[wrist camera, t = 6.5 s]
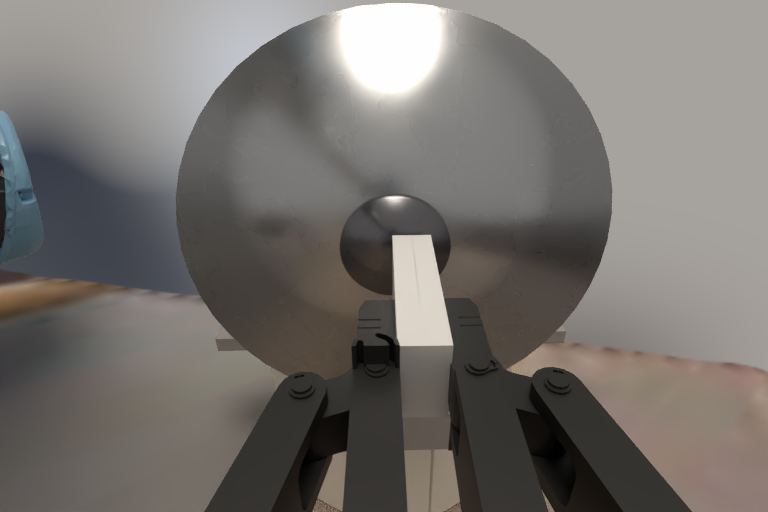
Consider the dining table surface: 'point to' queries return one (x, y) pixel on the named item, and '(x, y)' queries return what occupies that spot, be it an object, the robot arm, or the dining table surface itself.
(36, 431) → the dining table surface
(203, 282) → the lid
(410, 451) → the stockpot
